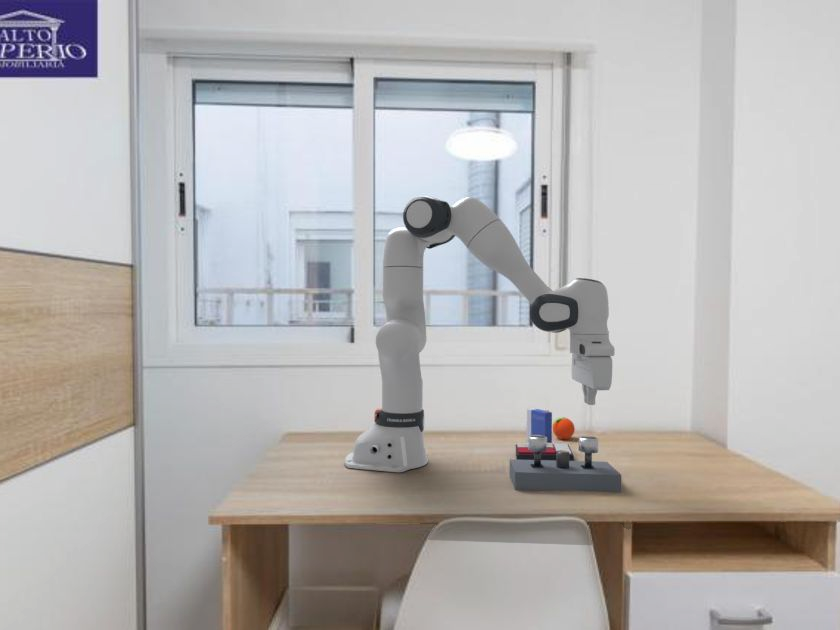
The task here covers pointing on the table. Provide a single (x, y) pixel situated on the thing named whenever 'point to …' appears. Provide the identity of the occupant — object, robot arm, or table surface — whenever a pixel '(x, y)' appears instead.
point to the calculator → (550, 454)
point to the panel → (564, 476)
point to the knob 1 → (537, 447)
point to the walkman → (539, 423)
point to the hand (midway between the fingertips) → (589, 403)
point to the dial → (562, 459)
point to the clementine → (563, 428)
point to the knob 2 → (588, 448)
